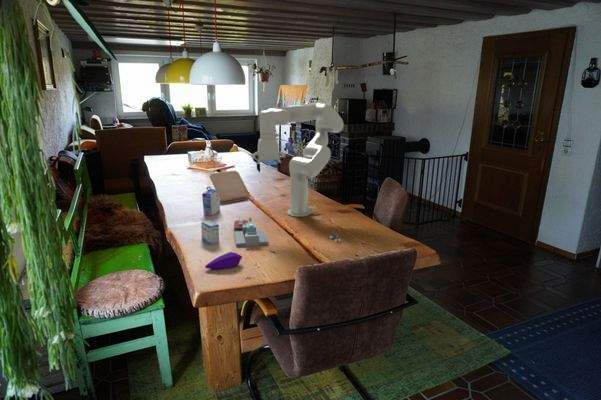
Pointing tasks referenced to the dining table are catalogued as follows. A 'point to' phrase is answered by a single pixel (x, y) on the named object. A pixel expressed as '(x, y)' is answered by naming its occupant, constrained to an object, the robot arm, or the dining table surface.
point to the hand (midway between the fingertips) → (268, 170)
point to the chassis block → (250, 238)
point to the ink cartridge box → (211, 201)
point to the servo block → (250, 228)
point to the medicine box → (210, 232)
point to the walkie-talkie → (240, 224)
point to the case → (229, 186)
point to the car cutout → (335, 236)
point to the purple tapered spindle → (225, 261)
